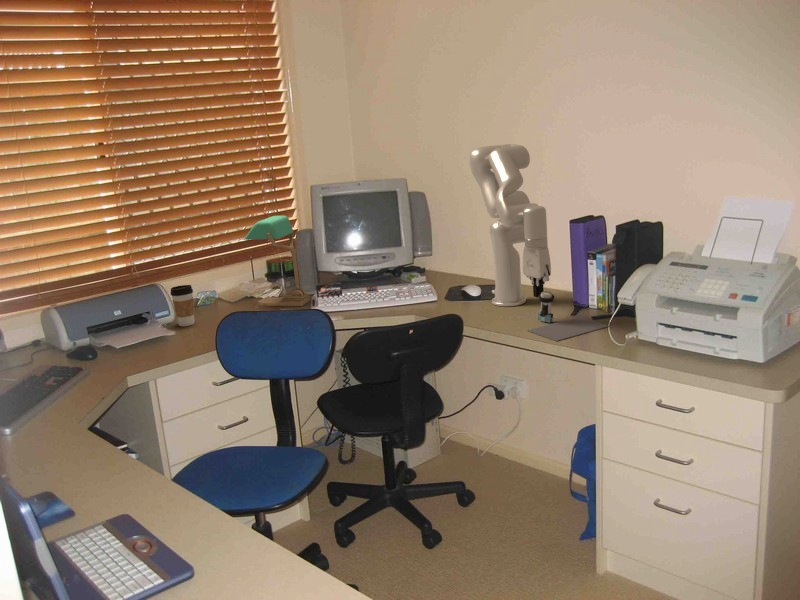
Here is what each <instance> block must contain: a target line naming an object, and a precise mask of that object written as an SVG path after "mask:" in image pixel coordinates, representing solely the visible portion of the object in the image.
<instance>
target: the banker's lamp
mask: <svg viewBox="0 0 800 600" xmlns="http://www.w3.org/2000/svg"><path fill="white" fill-rule="evenodd" d="M292 233H294V229H293V227H292V224H291V221H290V219H289V217H288V216H286V215H273V216H270V217H268V218H264V219H262V220H259V221H257V222H256V223H254V224H253V226H252V227H251V229H250V230H249V231H248V233H246V236H244V238H243V240H248V241H249V240H269V242H270V244H271V245H272V246H273V247H277V248H284V249H288V250H289V251H290V254H291V258H292V266H293V275H294V281H295V283H294V284H295V288H294V289H293V290H292V292H289V293H287V294H286V295H284V296H282V297H273V296H272V297H271V296H270V295H267V296H265V297H264V298H262V299H260V300H258V306H261V307H267V306H268V307H275V306H276V307H278V306H279V307H303V306H304V305H306V304H308V303H309V302H311V296H310V295H309V294H308V292H306V291H305V290H304V288H302V287H301V279H300V271H299V270H300V269H299V264H298V263H299V262H298V253H297V251H296V249H295V248H294V238H293V234H292ZM286 236H288V239H289V243H288V245H285V244H280V243H277V242H276V241H275V240H277V239H281V238H284V237H286Z"/></svg>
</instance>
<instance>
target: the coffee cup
mask: <svg viewBox="0 0 800 600" xmlns="http://www.w3.org/2000/svg"><path fill="white" fill-rule="evenodd" d="M193 293H194V289H193V287H192V285H191V284H183V285H177V286H172V287H171V288H170V293H169V294H170V296H171V298H172V303H173V308H174V312H175V315H176V318H177V323H178V326H180V327H188V326H192V325H194V324H195V321H196V320H195V306H194V296H193Z"/></svg>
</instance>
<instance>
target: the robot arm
mask: <svg viewBox="0 0 800 600" xmlns="http://www.w3.org/2000/svg"><path fill="white" fill-rule="evenodd" d="M530 162H531V156H530V153H529V150H528V149H527V147H525V146H524V145H520V144H514V143H507V144H497V145H496V144H495V145H486V146H480V147H477V148H475V149H474V150H472V151H471V153H470V155H469V167H470V170H471V173H472V176H473V177H474V179H475V181H476V183H477V185H478V186H479V188H480V190H481V194H482V197H483V201H484V205H485V206H486V210H487V213H488V215H489V216H490V217H491V218H493V219H497V220H495V221H493V222H492V223H491V225H490V227H489V235H490V240H491V243H492V251H493V265H494V283H495V285H494V286H495V288H494V289H492V290H491V293H492V294H493V295H494V297H493V298H492V299H491V304H492V305H495V306H498V307H516V306H520V305H523V304H525V303H526V302H527V298H526V297H525V296H523V295H522V278H521V258H520V253H519V251H518V250H517V249H516V248H515V246H514V245H515V244H521V243H522V244H523V243H524V246H523V251H522V273H523V275H524V276H526V278H527V279H529V280H530V281H531V282H530V283H531V285H532V290H533V291H532V292H533V297H535V298H539V297H538V295H539V294H541V292H544V291H545V290H544V286H545V283H546V282H549V281H550V277H551V274H552V264H551V256H550V251H549V246H548V243H549V242H548V224H547V223H548V222H547V221H548V220H547V209H546V207H544V206H542V205H539V204H537V203H533V202H530V199H529V197H528V195H527V194H526V192H524V191H523V190H519V189H520V188H521V187H522V185H524V184H523V183H524V178H523V177H524V176H523V174H522V173H521V171H520V170H524V169H527V168H528V167H529V165H530Z"/></svg>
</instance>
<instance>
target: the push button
mask: <svg viewBox="0 0 800 600" xmlns="http://www.w3.org/2000/svg"><path fill="white" fill-rule="evenodd" d="M537 298H538V301H539V302H540V310H539V312H538V313H537V320H538V321H541V322H542V323H549V324H551V322H553V323H557V322H556V320H557V318H555V317H554V314H553V313H552V310H551V309H552V303H553V302H554V299H555V295H554V294H553V293H552V292H551V291H545V290H544V292H541V294H539V295H538V297H537Z"/></svg>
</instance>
